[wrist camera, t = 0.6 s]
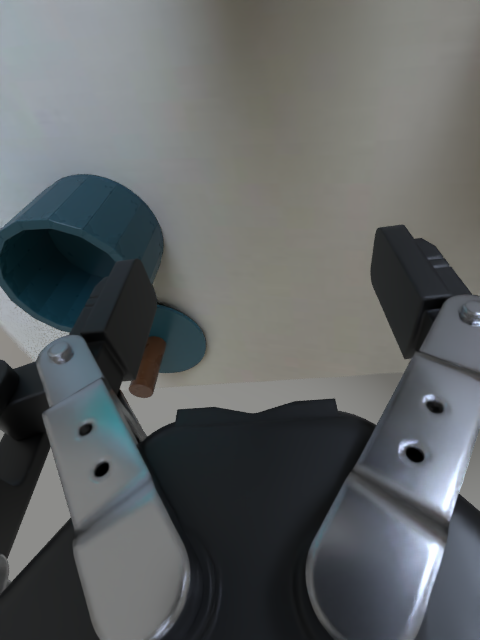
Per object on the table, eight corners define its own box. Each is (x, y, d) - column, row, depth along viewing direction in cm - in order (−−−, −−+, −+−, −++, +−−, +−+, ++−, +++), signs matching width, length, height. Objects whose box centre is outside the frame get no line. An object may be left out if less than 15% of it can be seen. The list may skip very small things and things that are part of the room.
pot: (15, 178, 28) (-47, 224, 23) (144, 169, 27) (113, 215, 22) (73, 283, 36) (38, 337, 30) (175, 279, 35) (158, 334, 29)
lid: (91, 301, 38) (60, 355, 32) (197, 297, 37) (185, 354, 31) (126, 367, 47) (106, 419, 41) (213, 366, 45) (205, 420, 40)
